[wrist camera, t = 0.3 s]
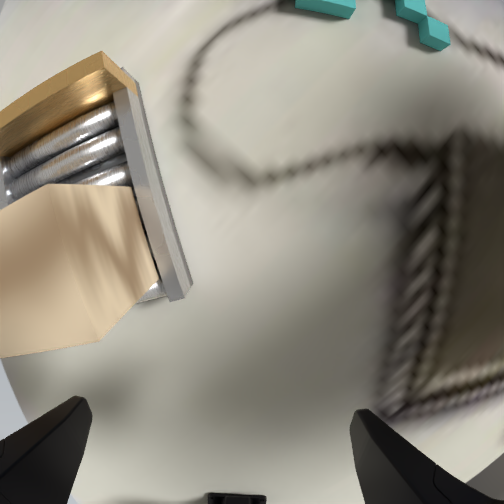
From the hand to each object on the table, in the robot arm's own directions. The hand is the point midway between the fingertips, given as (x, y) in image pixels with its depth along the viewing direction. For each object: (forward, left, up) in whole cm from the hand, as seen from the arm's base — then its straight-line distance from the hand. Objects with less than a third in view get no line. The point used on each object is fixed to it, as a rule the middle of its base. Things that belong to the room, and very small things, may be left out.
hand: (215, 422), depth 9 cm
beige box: (+3, +10, -11) cm, 15 cm away
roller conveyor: (+6, +11, -14) cm, 19 cm away
